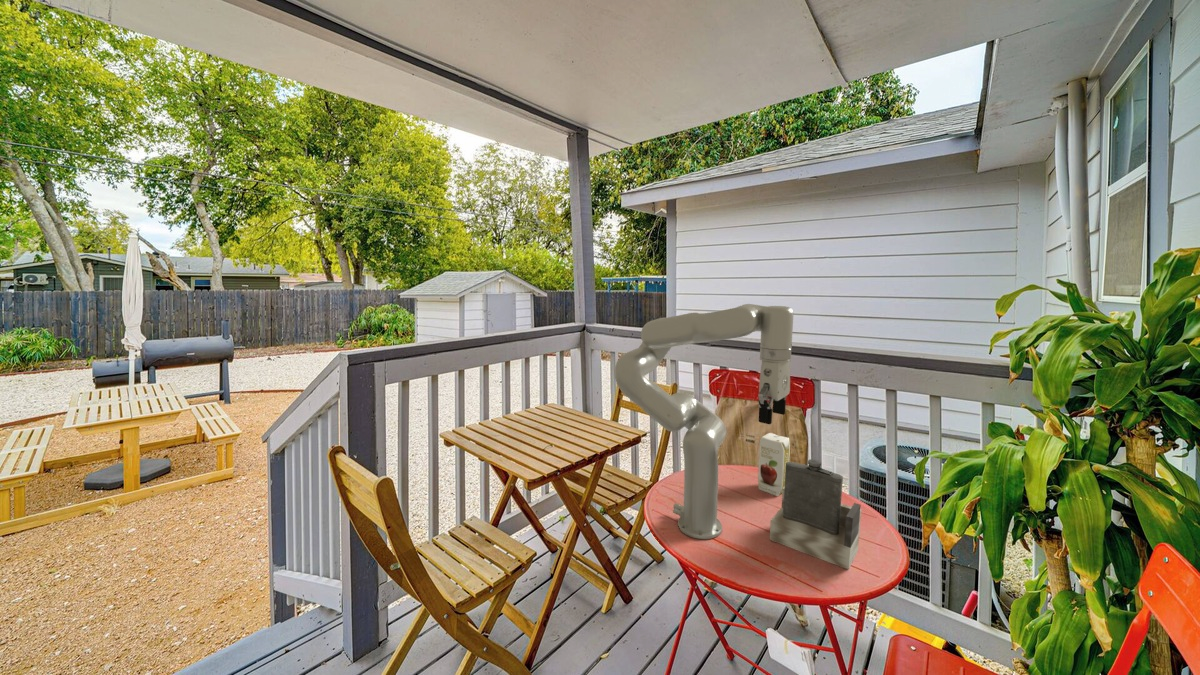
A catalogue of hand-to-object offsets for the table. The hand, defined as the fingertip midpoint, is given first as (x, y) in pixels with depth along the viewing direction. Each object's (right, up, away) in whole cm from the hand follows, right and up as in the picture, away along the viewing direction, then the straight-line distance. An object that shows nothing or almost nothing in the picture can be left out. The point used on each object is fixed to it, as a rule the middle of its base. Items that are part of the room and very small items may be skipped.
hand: (772, 418), depth 121 cm
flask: (+12, -30, +5) cm, 33 cm away
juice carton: (+14, -31, +36) cm, 50 cm away
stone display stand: (+13, -36, +5) cm, 38 cm away
